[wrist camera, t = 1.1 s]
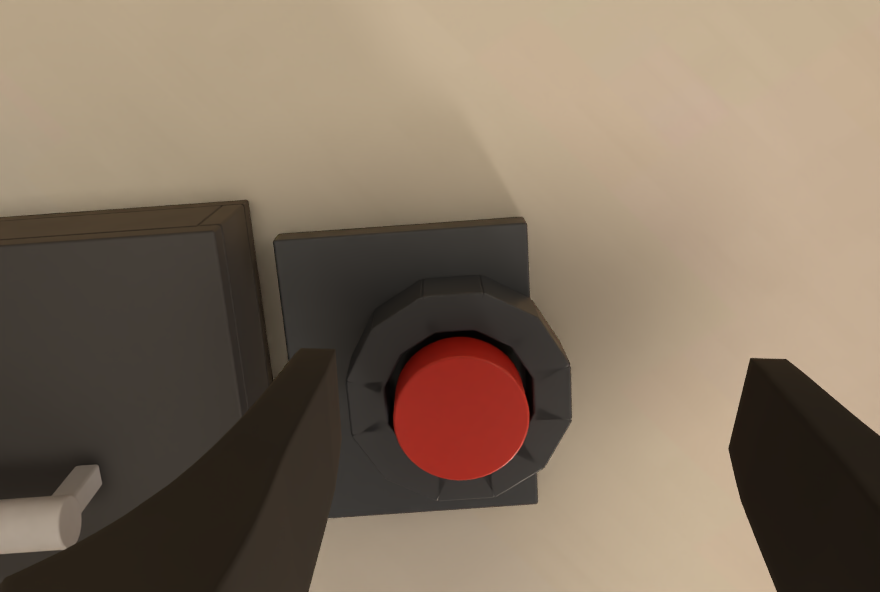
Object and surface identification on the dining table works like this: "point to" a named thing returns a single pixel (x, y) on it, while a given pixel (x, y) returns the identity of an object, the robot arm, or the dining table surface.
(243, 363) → the dark brown box
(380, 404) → the button base
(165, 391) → the lid
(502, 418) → the power button
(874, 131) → the dining table surface
